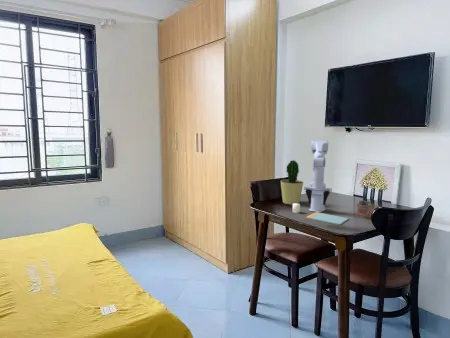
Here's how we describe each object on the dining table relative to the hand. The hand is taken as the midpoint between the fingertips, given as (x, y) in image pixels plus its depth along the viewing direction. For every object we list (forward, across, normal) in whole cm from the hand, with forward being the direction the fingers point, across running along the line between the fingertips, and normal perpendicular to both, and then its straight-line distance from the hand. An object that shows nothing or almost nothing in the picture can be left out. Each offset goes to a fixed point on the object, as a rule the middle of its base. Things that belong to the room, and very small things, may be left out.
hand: (316, 204), depth 177 cm
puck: (+8, -17, +17) cm, 25 cm away
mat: (+9, +4, +13) cm, 16 cm away
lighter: (+8, +20, +27) cm, 35 cm away
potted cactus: (+6, -27, +39) cm, 48 cm away
